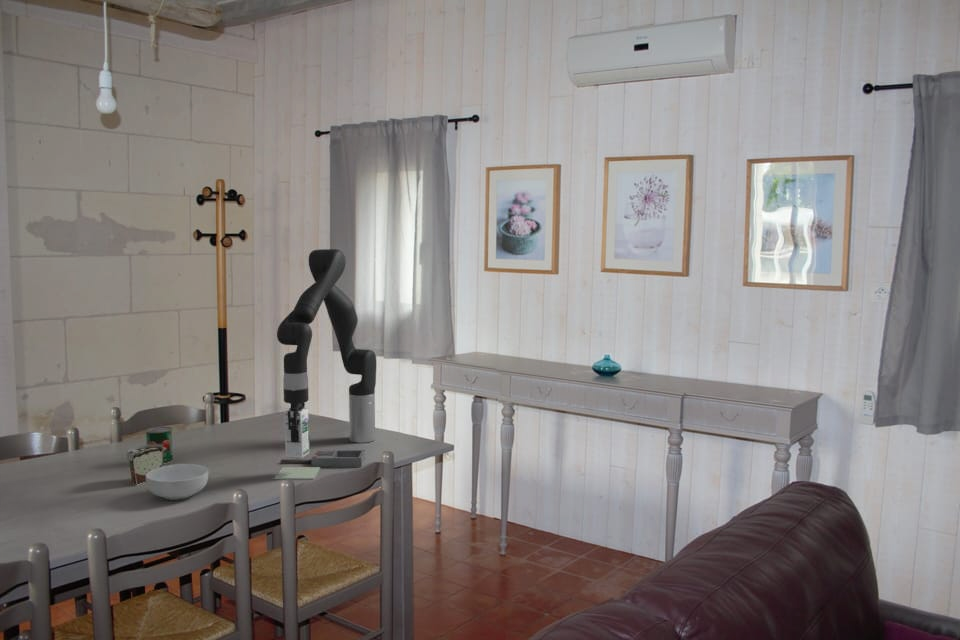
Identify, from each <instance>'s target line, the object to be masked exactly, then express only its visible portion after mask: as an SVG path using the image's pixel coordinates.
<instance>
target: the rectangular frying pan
mask: <svg viewBox="0 0 960 640" xmlns="http://www.w3.org/2000/svg"><path fill="white" fill-rule="evenodd" d="M365 460H366V449H316V451H315V452H314V453H313V455H312V457H311V458H310V459H309V458H308V459H304V458H303V459H302V458H298V459H297V458H296V459H295V458H293V459H291V458H289V459H285V458H284V459H281V460H280V461H279V462H280V464H311V467H320V468H360V467H359V466H362V467H363V464H364V462H365Z"/></svg>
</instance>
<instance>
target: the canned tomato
mask: <svg viewBox="0 0 960 640" xmlns="http://www.w3.org/2000/svg"><path fill="white" fill-rule="evenodd" d="M172 433H173V432H172V427H170V426H154V427H149V428H147V429H146V430H145V437H146V441H145V442H146V445H163V447H164V450H165V451H163V464H164V463H168V462H171V461H172V460H173V461H174V458H173V456H174V455H173V436H172V435H173V434H172ZM173 461H172V462H173ZM172 462H171V463H172ZM168 464H169V463H168ZM164 465H165V464H164Z"/></svg>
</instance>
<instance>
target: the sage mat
mask: <svg viewBox="0 0 960 640" xmlns="http://www.w3.org/2000/svg"><path fill="white" fill-rule="evenodd" d="M320 470H321V467H312V466H311V467H310V466H282V467H281V469H280V470H279V471H278V473H277V474H276V475H275V476H274V478H273V480H274V479H281V480H282V479H284V480H286V479H285V478H291V479H290V480H314V479H315V477H316V476H317V474H318V473H319V471H320ZM282 481H283V480H282Z"/></svg>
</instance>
